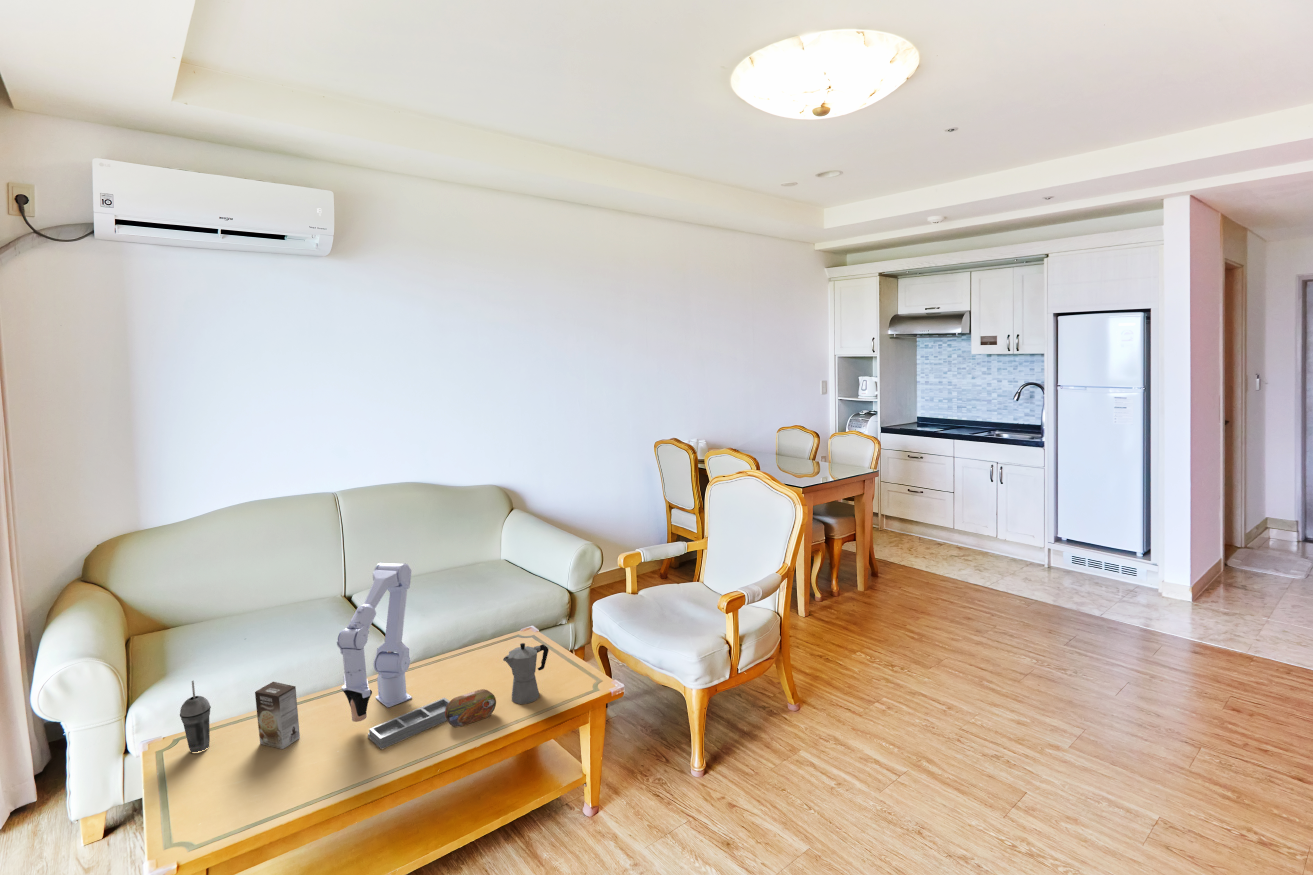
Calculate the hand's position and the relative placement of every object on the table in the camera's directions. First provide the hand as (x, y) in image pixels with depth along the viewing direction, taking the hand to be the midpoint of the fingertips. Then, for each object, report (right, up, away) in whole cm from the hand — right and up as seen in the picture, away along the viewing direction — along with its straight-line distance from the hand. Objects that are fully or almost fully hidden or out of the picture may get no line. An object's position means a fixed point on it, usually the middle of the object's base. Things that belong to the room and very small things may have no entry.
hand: (358, 711), depth 196 cm
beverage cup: (-42, -8, -7) cm, 43 cm away
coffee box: (-21, -7, -4) cm, 22 cm away
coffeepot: (+47, -3, +18) cm, 50 cm away
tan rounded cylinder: (0, -2, 0) cm, 2 cm away
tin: (+32, -5, +5) cm, 33 cm away
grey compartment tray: (+16, -5, +2) cm, 17 cm away
